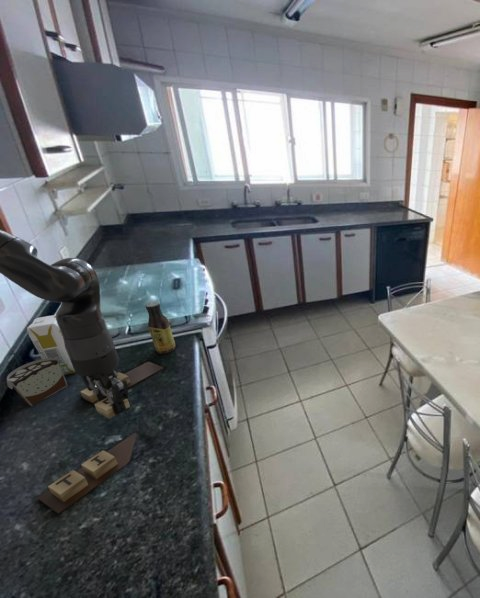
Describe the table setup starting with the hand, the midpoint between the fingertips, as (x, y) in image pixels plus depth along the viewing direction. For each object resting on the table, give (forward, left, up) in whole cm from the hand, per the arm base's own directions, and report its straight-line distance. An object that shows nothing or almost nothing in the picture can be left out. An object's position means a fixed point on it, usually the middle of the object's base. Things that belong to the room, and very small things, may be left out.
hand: (113, 408), depth 79 cm
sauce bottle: (+34, +33, -14) cm, 49 cm away
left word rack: (-6, -1, -14) cm, 15 cm away
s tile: (0, 0, 0) cm, 0 cm away
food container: (+2, +42, -14) cm, 44 cm away
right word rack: (+16, +27, -14) cm, 34 cm away
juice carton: (+12, +49, -14) cm, 52 cm away
